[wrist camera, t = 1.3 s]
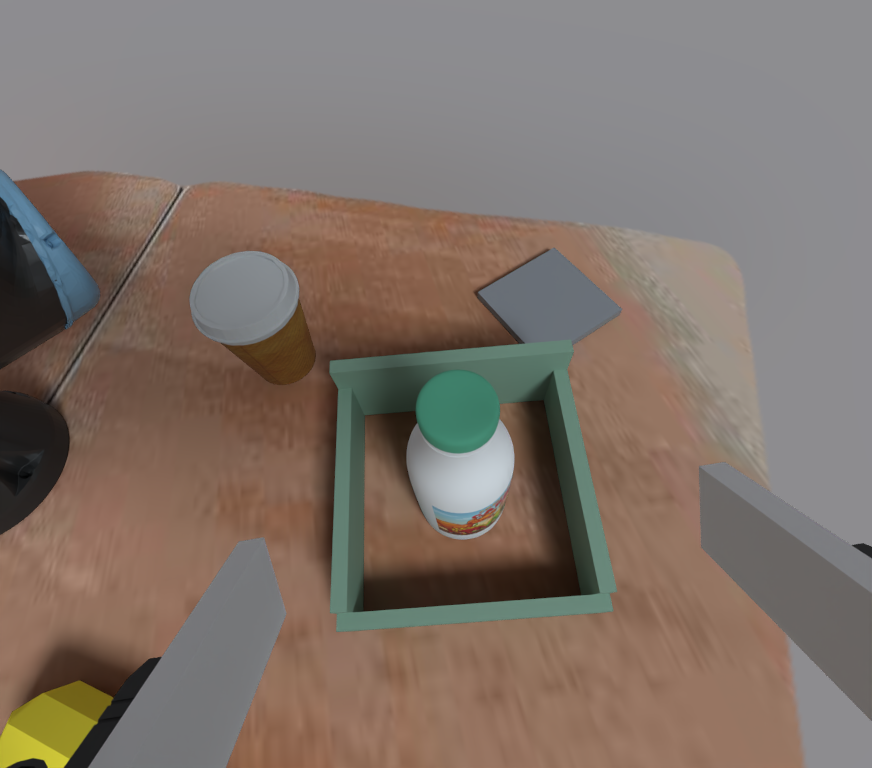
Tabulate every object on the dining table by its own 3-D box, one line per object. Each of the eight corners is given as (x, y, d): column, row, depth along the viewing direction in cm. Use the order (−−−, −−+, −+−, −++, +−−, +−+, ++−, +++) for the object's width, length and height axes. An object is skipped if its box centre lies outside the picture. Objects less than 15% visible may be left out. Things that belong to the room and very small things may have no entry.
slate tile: (477, 297, 53) (477, 292, 52) (552, 253, 55) (554, 247, 54) (540, 366, 48) (541, 361, 47) (619, 314, 51) (622, 309, 50)
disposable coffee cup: (279, 311, 54) (233, 233, 43) (347, 343, 51) (315, 268, 41) (225, 376, 50) (160, 308, 40) (295, 413, 48) (245, 352, 37)
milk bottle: (408, 526, 42) (364, 451, 24) (433, 447, 45) (411, 330, 27) (493, 552, 40) (512, 492, 22) (512, 468, 43) (543, 359, 26)
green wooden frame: (599, 612, 38) (635, 608, 30) (348, 631, 38) (316, 632, 30) (553, 388, 47) (570, 339, 39) (353, 405, 48) (330, 360, 40)
